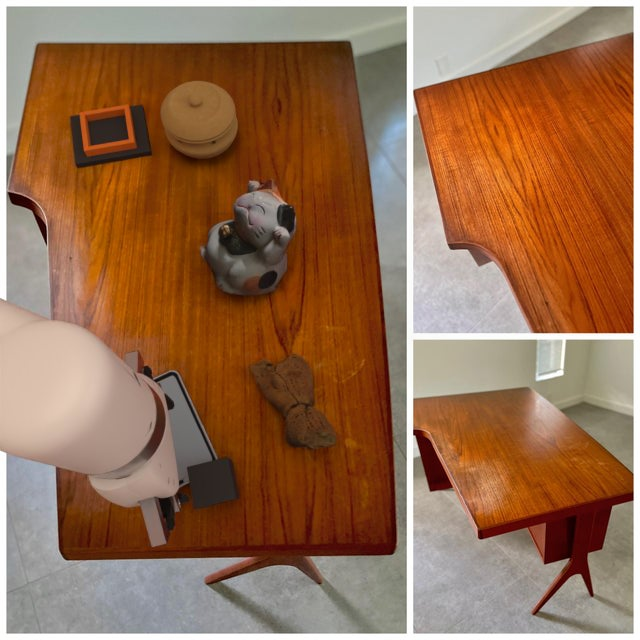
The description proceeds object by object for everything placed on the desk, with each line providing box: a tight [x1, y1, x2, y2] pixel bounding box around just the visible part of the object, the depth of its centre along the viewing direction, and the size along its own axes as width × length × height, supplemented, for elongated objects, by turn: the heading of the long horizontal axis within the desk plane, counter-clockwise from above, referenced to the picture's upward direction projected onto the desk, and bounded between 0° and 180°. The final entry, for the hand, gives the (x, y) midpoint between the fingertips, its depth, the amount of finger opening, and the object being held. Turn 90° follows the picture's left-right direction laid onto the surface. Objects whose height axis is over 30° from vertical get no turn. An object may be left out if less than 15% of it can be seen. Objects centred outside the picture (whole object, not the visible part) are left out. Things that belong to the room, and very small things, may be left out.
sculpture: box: [248, 353, 338, 451], centre depth 69 cm, size 8×10×15 cm
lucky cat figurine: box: [199, 178, 297, 296], centre depth 76 cm, size 15×12×14 cm
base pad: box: [69, 104, 153, 169], centre depth 88 cm, size 12×10×2 cm
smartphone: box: [153, 369, 219, 489], centre depth 71 cm, size 7×1×15 cm
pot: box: [160, 80, 239, 160], centre depth 85 cm, size 12×12×10 cm
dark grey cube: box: [187, 456, 240, 510], centre depth 66 cm, size 5×5×6 cm
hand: (166, 454), depth 54 cm, fingers open, 9 cm apart
